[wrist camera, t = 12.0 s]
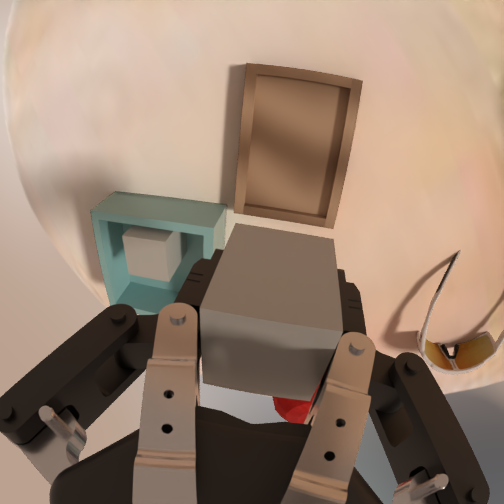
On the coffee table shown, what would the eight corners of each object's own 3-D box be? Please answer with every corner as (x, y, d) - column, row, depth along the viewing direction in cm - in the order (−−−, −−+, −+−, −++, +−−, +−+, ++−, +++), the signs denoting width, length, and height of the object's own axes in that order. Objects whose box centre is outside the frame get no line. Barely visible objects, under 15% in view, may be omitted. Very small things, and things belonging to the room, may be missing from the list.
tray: (249, 63, 20) (246, 63, 19) (359, 80, 20) (362, 80, 19) (236, 207, 27) (233, 213, 26) (332, 222, 27) (333, 228, 26)
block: (235, 223, 12) (199, 307, 8) (333, 239, 12) (343, 331, 8) (230, 296, 15) (203, 382, 11) (313, 310, 14) (309, 401, 10)
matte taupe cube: (147, 210, 28) (122, 235, 24) (185, 214, 28) (165, 241, 24) (150, 245, 30) (128, 274, 26) (187, 251, 30) (168, 282, 26)
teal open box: (115, 191, 28) (90, 210, 24) (226, 204, 27) (213, 228, 24) (128, 282, 34) (110, 307, 31) (221, 301, 34) (211, 331, 30)
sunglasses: (399, 349, 34) (407, 377, 30) (435, 238, 28) (454, 258, 24) (481, 348, 33) (494, 371, 28) (521, 252, 26) (543, 270, 22)
